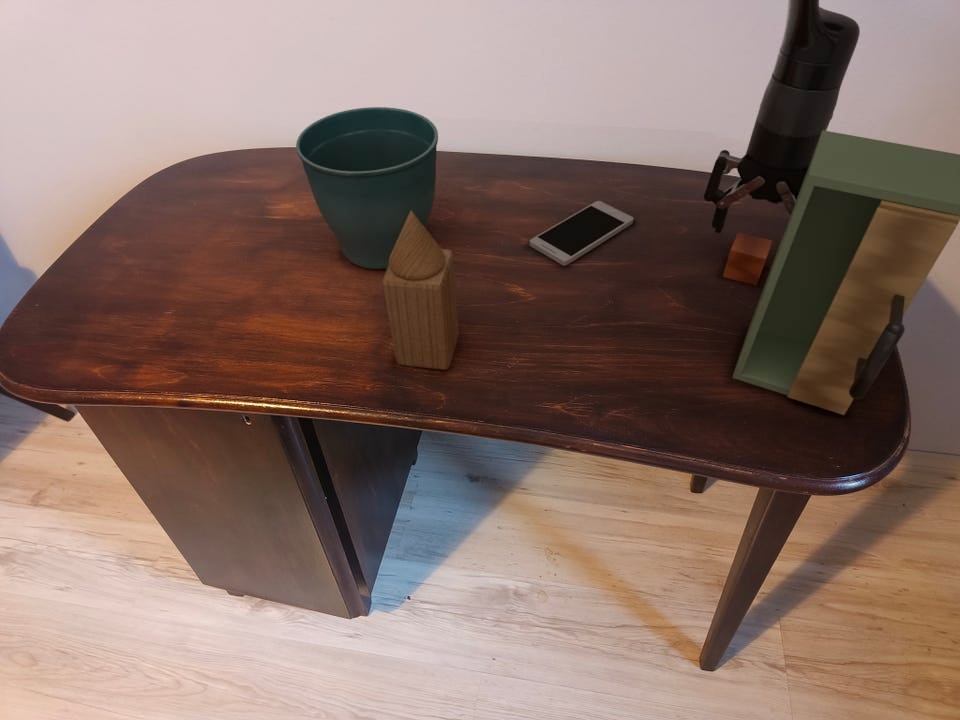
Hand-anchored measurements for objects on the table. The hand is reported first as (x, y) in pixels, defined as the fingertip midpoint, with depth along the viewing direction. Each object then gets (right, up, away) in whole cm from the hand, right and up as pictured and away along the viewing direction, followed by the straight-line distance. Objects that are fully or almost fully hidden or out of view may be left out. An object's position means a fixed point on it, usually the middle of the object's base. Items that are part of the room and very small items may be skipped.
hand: (752, 238), depth 83 cm
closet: (+1, -17, -9) cm, 19 cm away
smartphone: (-20, +3, +11) cm, 23 cm away
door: (0, -22, -16) cm, 27 cm away
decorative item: (-42, -15, -5) cm, 45 cm away
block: (0, -4, +4) cm, 6 cm away
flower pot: (-50, +1, +11) cm, 51 cm away
